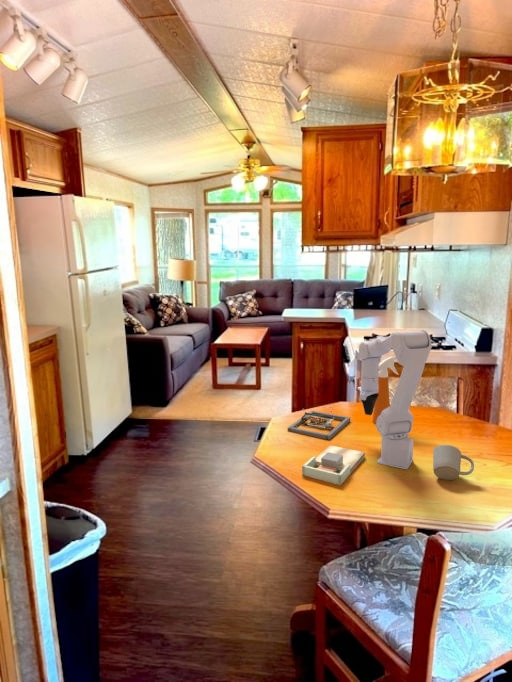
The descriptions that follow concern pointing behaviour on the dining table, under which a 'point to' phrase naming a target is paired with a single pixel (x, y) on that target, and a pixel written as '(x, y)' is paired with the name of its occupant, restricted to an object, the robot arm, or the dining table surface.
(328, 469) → the tile terracotta
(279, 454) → the dining table surface
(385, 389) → the spray bottle
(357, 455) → the board
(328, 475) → the tray
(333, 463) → the tile slate
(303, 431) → the gray open frame
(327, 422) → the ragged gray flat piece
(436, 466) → the ceramic mug
